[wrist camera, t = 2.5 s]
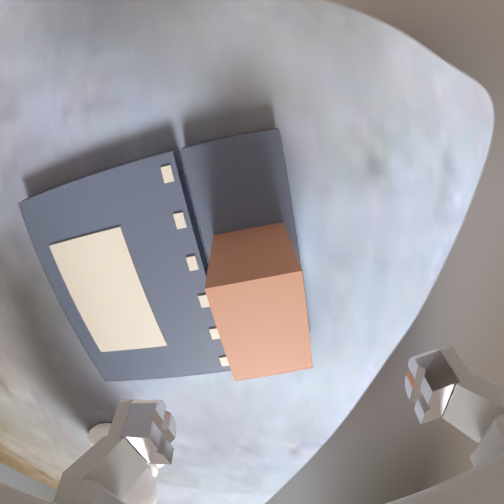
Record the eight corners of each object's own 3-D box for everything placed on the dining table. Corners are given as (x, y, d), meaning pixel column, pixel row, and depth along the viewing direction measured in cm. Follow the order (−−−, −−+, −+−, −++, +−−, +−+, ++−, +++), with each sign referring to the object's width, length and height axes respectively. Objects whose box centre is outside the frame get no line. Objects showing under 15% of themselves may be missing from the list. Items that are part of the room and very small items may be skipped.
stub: (241, 357, 21) (243, 432, 15) (184, 146, 15) (153, 168, 9) (307, 345, 21) (327, 418, 15) (276, 128, 15) (300, 138, 9)
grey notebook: (109, 370, 21) (104, 382, 20) (28, 197, 15) (17, 203, 14) (235, 357, 21) (235, 370, 20) (177, 148, 15) (172, 151, 14)
